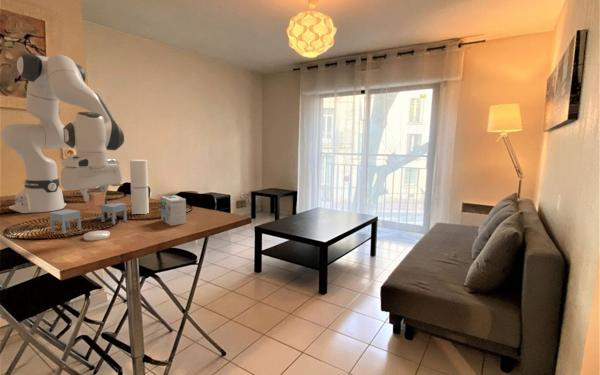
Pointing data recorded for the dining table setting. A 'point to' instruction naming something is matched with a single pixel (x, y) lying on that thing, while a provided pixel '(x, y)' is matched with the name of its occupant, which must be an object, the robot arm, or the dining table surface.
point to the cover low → (65, 219)
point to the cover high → (113, 210)
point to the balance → (106, 216)
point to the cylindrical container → (139, 186)
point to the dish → (96, 235)
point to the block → (96, 199)
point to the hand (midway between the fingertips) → (95, 199)
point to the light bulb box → (173, 210)
